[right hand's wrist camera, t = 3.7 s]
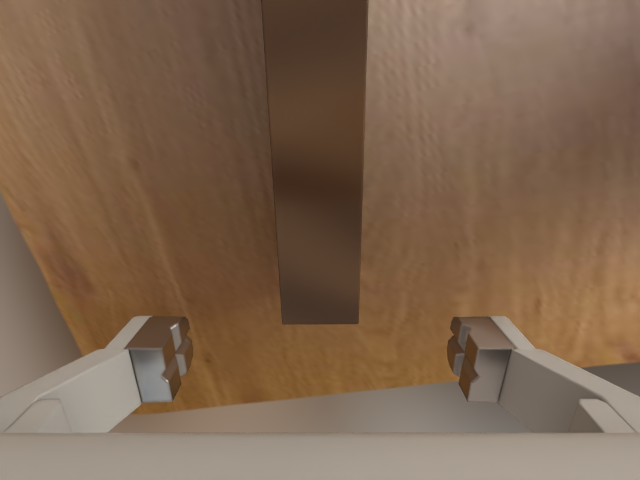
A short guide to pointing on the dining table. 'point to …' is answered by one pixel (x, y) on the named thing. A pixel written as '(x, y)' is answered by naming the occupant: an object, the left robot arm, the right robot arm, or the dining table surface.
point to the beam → (317, 152)
